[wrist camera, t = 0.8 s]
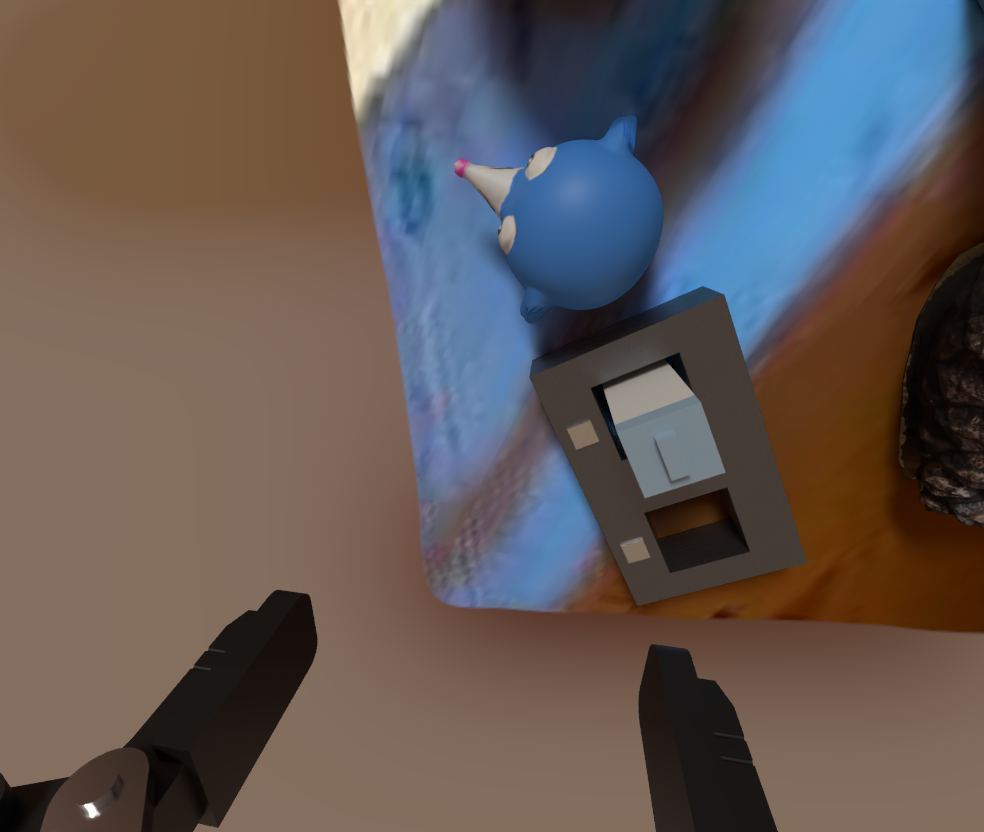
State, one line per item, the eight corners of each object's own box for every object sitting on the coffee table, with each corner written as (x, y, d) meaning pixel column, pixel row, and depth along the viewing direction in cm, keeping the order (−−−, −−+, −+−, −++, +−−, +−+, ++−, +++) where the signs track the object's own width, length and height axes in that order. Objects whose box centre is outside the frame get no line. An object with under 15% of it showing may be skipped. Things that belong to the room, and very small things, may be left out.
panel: (702, 286, 29) (725, 295, 25) (780, 528, 35) (808, 565, 31) (532, 360, 32) (529, 378, 29) (629, 569, 38) (637, 608, 34)
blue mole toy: (511, 65, 26) (492, -3, 18) (690, 164, 27) (746, 137, 19) (432, 263, 31) (391, 274, 23) (586, 342, 31) (597, 379, 24)
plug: (657, 350, 31) (704, 406, 21) (677, 403, 32) (729, 478, 23) (599, 374, 32) (618, 437, 22) (620, 424, 33) (646, 504, 24)
